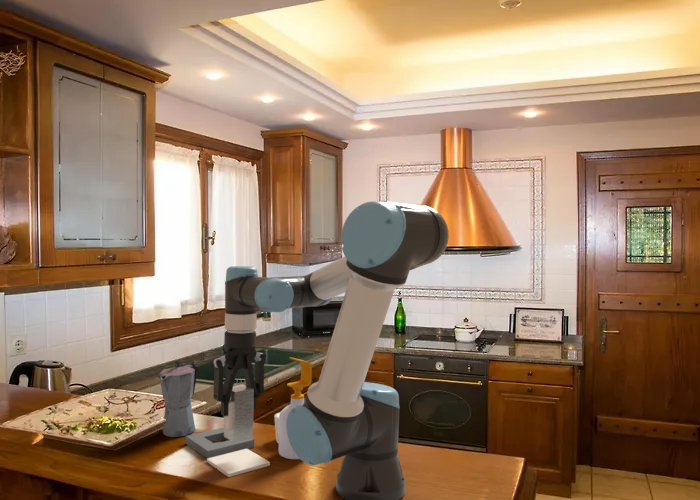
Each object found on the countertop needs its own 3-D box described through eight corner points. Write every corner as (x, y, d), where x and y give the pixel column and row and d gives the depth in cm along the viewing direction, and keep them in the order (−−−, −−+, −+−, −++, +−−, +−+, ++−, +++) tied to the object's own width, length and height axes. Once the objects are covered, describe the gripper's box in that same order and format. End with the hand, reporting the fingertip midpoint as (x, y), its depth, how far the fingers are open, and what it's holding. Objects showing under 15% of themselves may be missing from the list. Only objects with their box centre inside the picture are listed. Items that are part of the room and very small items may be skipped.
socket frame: (254, 447, 147) (254, 439, 147) (207, 459, 139) (208, 450, 138) (230, 433, 157) (230, 426, 157) (185, 443, 148) (185, 436, 148)
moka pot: (147, 438, 152) (148, 364, 151) (180, 420, 166) (181, 353, 166) (177, 442, 149) (178, 367, 149) (208, 424, 164) (209, 356, 163)
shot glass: (301, 436, 155) (301, 411, 155) (296, 445, 149) (297, 419, 148) (277, 435, 156) (277, 410, 156) (271, 444, 149) (271, 418, 149)
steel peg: (252, 438, 136) (253, 388, 135) (233, 442, 133) (235, 392, 132) (242, 432, 140) (243, 384, 139) (223, 436, 136) (224, 387, 136)
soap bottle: (271, 452, 144) (273, 356, 143) (300, 444, 150) (302, 352, 149) (292, 463, 137) (294, 363, 137) (321, 454, 143) (323, 358, 143)
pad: (269, 465, 135) (269, 462, 135) (228, 477, 128) (228, 473, 128) (246, 451, 144) (246, 448, 144) (206, 461, 137) (206, 458, 137)
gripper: (264, 325, 144) (262, 415, 145) (198, 331, 132) (196, 429, 133) (280, 329, 138) (278, 423, 139) (213, 336, 127) (211, 438, 127)
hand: (238, 425), depth 136 cm, fingers closed on steel peg, 5 cm apart
